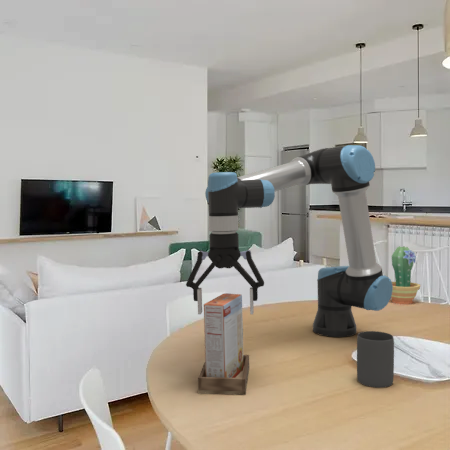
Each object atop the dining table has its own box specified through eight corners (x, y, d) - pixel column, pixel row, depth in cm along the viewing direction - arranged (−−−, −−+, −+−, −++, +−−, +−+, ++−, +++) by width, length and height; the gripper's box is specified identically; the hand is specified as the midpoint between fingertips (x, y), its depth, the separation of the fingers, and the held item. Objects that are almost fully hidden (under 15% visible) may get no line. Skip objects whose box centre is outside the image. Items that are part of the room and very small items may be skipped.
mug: (395, 389, 123) (396, 341, 122) (357, 386, 125) (357, 339, 124) (389, 370, 136) (390, 327, 136) (355, 368, 138) (355, 325, 138)
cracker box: (223, 366, 138) (223, 292, 137) (244, 369, 136) (243, 293, 135) (203, 384, 125) (202, 302, 124) (226, 388, 123) (225, 304, 122)
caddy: (249, 368, 139) (249, 354, 139) (245, 394, 121) (245, 379, 120) (208, 367, 140) (208, 354, 140) (198, 393, 122) (198, 378, 122)
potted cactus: (387, 305, 217) (387, 248, 215) (381, 298, 232) (382, 244, 230) (424, 306, 214) (425, 248, 213) (416, 298, 229) (417, 244, 228)
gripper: (272, 230, 131) (273, 309, 132) (179, 231, 133) (181, 309, 135) (272, 232, 123) (273, 316, 125) (173, 234, 126) (176, 316, 127)
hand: (225, 313), depth 130 cm, fingers open, 13 cm apart
